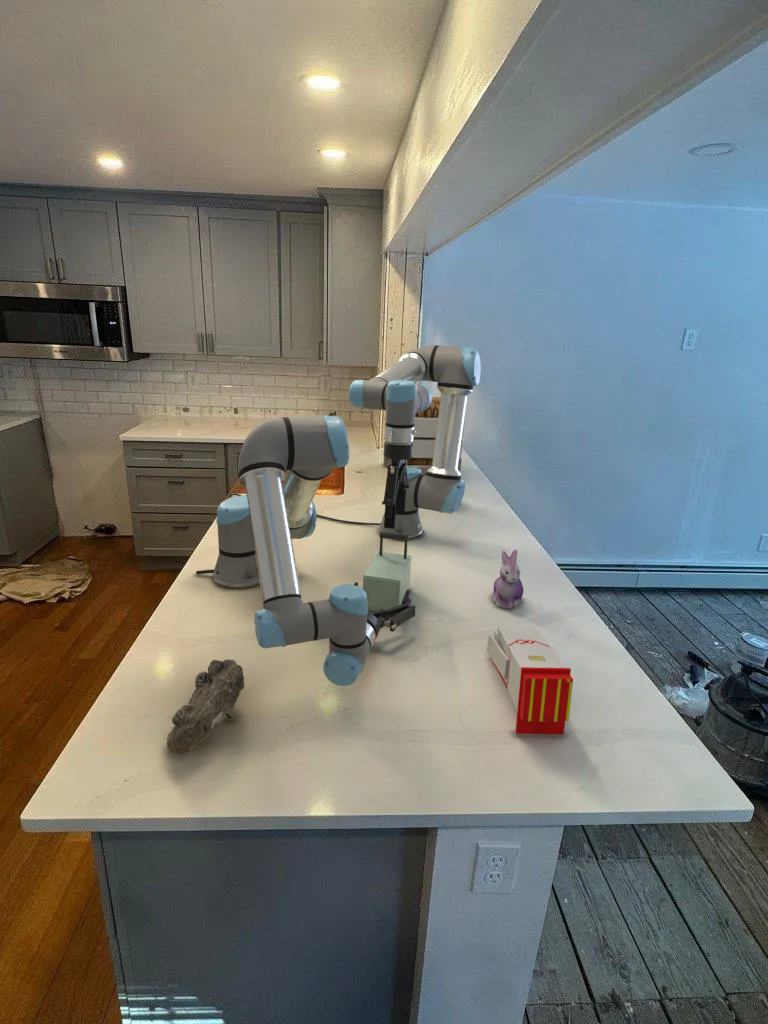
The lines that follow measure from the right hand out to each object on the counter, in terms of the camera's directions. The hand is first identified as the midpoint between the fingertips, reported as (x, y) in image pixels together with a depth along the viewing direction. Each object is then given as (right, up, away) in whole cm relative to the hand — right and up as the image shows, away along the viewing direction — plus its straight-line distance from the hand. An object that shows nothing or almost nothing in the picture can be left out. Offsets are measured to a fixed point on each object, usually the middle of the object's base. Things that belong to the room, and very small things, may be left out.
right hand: (394, 519), depth 153 cm
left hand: (-3, -18, -7) cm, 20 cm away
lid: (-2, -13, -1) cm, 13 cm away
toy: (+26, -36, -33) cm, 55 cm away
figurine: (+31, -23, +3) cm, 39 cm away
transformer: (+14, +21, +122) cm, 124 cm away
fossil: (-36, -37, -45) cm, 69 cm away
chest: (-2, -22, +2) cm, 22 cm away
